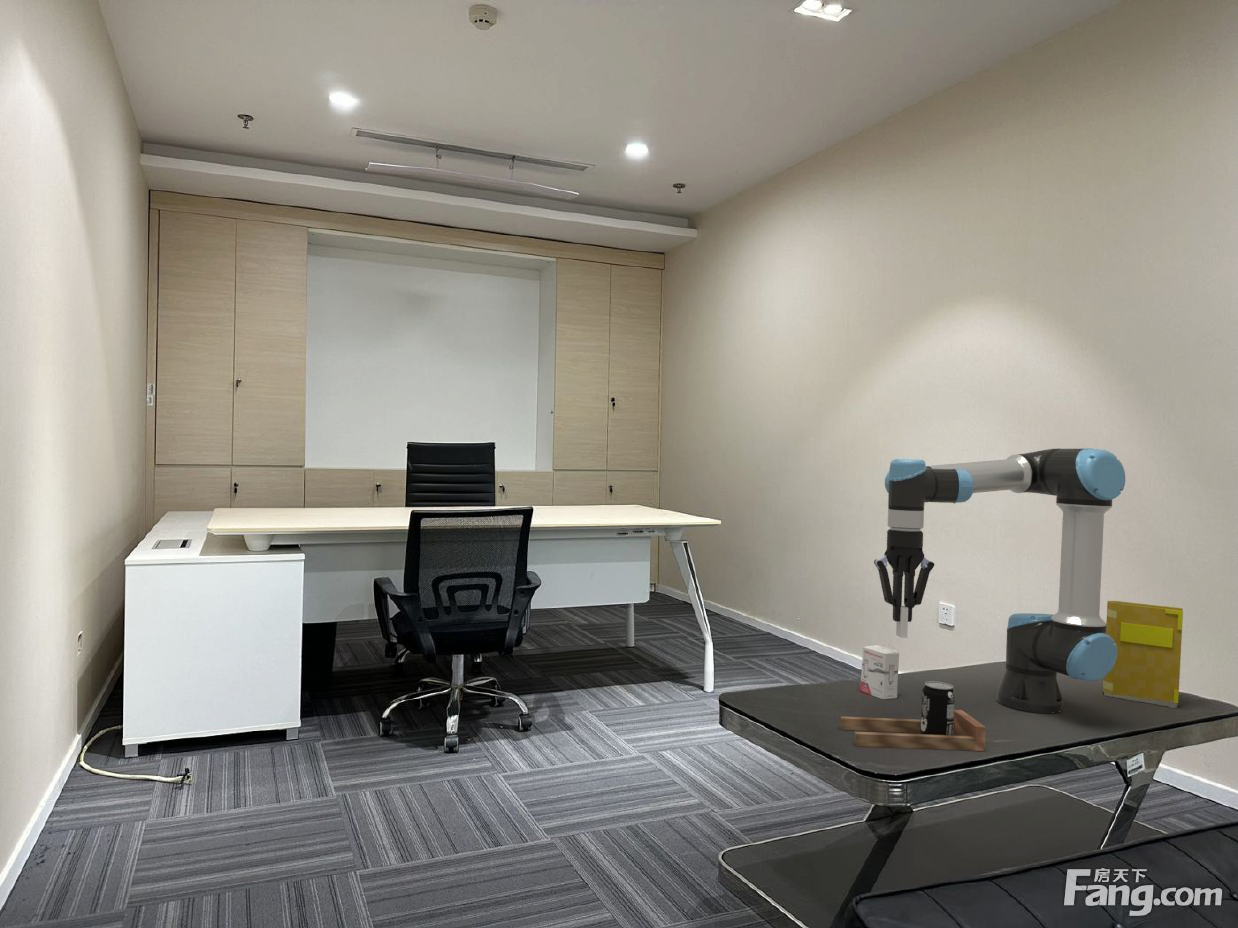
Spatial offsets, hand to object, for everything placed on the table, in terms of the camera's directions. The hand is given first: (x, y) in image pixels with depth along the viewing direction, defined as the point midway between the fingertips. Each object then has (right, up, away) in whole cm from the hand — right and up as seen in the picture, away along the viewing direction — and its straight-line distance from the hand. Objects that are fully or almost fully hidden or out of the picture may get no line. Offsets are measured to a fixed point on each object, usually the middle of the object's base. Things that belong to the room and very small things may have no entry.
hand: (901, 636), depth 188 cm
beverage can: (+6, -22, -4) cm, 23 cm away
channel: (0, -21, -4) cm, 22 cm away
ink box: (+4, -21, +31) cm, 38 cm away
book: (+75, -25, +38) cm, 88 cm away
